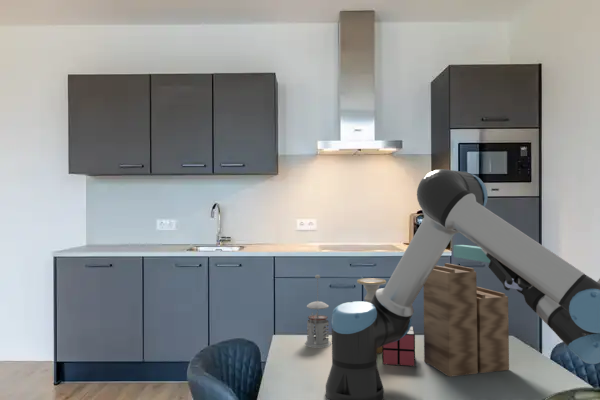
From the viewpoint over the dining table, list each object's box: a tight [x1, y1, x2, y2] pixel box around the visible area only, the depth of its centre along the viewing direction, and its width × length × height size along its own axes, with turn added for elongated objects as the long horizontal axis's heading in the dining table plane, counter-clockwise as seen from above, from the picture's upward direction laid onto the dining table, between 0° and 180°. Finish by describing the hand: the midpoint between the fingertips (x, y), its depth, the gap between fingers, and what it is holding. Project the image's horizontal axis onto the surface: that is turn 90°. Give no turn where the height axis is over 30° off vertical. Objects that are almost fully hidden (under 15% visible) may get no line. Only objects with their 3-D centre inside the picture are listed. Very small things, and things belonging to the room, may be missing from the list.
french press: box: [304, 274, 332, 349], centre depth 166 cm, size 10×12×25 cm
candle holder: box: [356, 277, 387, 355], centre depth 161 cm, size 11×11×24 cm
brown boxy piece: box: [423, 262, 510, 377], centre depth 143 cm, size 20×14×31 cm
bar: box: [453, 244, 490, 264], centre depth 129 cm, size 24×4×4 cm, turn 15°
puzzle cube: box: [381, 326, 416, 367], centre depth 148 cm, size 10×10×10 cm
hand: (490, 245), depth 125 cm, fingers closed on bar, 3 cm apart
